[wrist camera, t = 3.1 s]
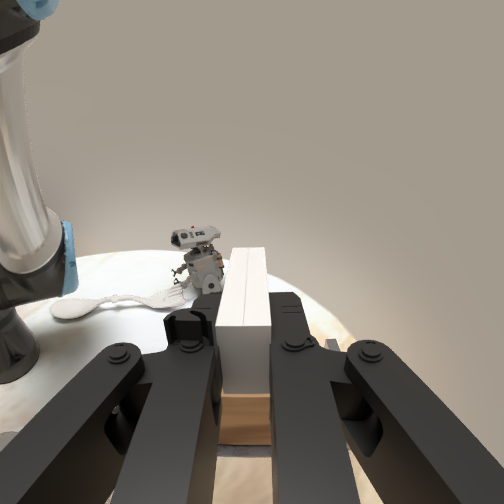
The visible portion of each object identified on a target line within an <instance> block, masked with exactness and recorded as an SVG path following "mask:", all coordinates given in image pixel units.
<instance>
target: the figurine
mask: <svg viewBox="0 0 504 504" xmlns="http://www.w3.org/2000/svg"><path fill="white" fill-rule="evenodd" d="M220 234H221V233H220V231H219V230H217V229H216V228H215V227H211V226H205V227H198V228H194V226H192V227H191V229H183V230H175V231H173V233H172V236H171V243H172V245H173V246H175V247H177V248H179V249H187V248H191V249H193V250H192V251H190V252H188V253H187V254H185V255H184V260H185V262H186V264H182V265H181V266H182V267H180V268H178V269H177V271H174V270H173V269H172V270H173V272H174V275H173V276H174V277H175V274H176V273H178V274H181V273H182V271H183V270H185V269H186V268H188V272H189V275H190V276H188V277H187V279H186V280H185V281H184V282H180V281H178V280H177V278H176V279H175V280H177V282H176V283H175V282H174V285H175V284H181V287H182V288H186V287H187V285H188V284H189V283H191V282H192V284H193V286H194V288H202V294H222V292H221V290H220V285H219V282H220V281H221V280H222V278H223V275H224V273H223V269H222V268H224V265H223V261H222V257H221V254H220V253H218V252H217V251H216V250H214V247H213V245H212V244H210V243H211V242H212V241H213V240H214V238H220ZM209 244H210V245H209ZM207 245H209V247H207ZM204 246H206V247H204ZM217 253H218V254H217ZM175 280H174V281H175Z"/></svg>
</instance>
